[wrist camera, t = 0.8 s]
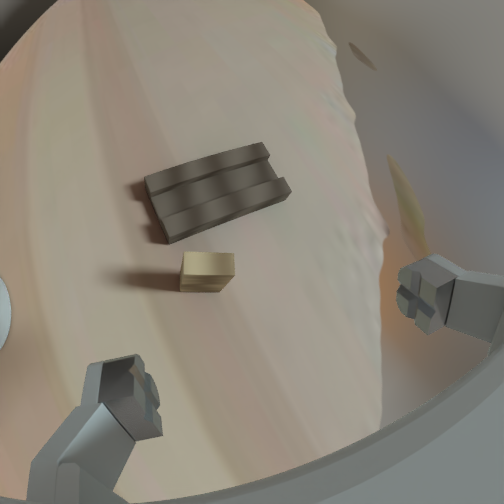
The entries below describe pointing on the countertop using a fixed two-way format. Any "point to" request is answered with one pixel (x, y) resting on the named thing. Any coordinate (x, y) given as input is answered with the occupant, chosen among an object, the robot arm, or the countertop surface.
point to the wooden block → (206, 271)
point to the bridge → (214, 190)
